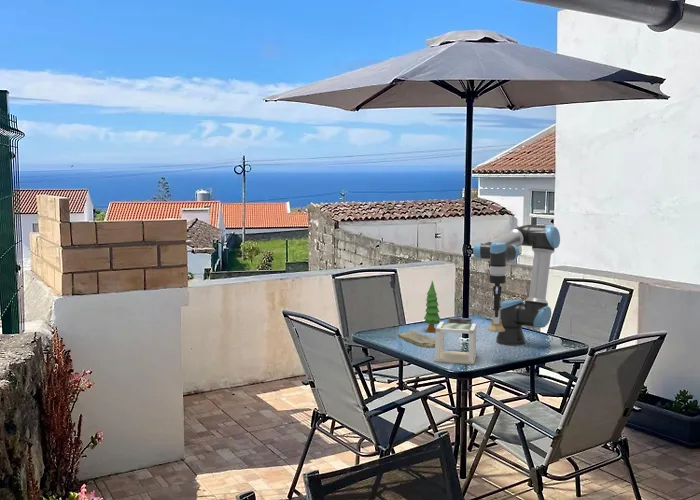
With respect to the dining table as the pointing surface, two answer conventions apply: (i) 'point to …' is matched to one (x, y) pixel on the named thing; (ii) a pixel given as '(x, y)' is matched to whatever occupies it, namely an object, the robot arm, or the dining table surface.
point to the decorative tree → (432, 309)
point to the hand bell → (496, 326)
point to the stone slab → (418, 339)
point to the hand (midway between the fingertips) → (496, 322)
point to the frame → (453, 355)
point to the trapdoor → (458, 323)
